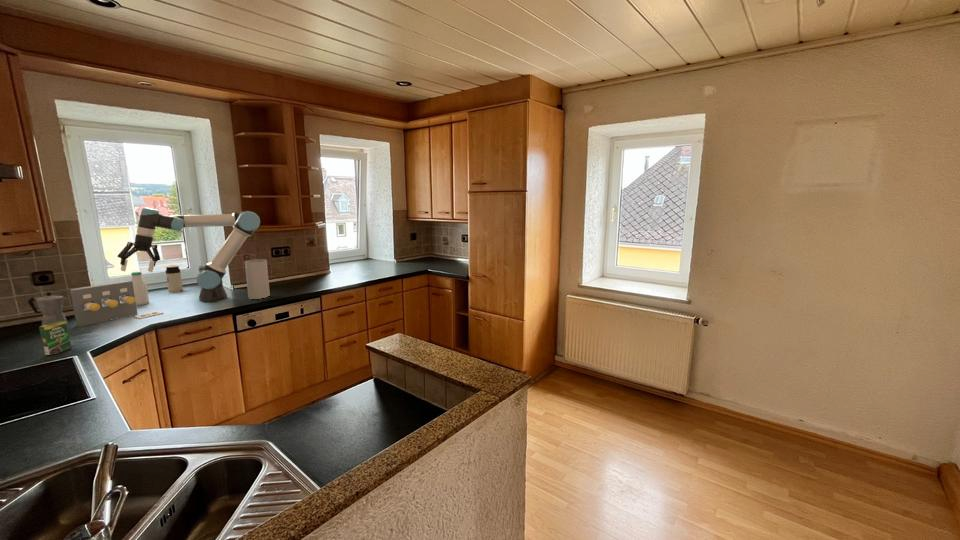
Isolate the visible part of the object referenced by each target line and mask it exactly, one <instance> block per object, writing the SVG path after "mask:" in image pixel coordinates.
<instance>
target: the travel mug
mask: <svg viewBox="0 0 960 540" xmlns="http://www.w3.org/2000/svg"><path fill="white" fill-rule="evenodd" d="M179 267H180V264H171V265H170V264H169V265H166V266H165V268H166V269H165V276H166V282H167V291H168V292H169V293H178V292H181V290H182V291H183V290H184V289H183V288H184V287H183V281H182V273H181V268H179ZM177 291H178V292H177Z"/></svg>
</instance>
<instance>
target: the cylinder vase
mask: <svg viewBox="0 0 960 540" xmlns="http://www.w3.org/2000/svg"><path fill="white" fill-rule="evenodd" d="M244 264H245V265H244V267H245V277H246V278H245V279H246V285H247V286H246V287H247V296H248V299H249V300H251V299H260V300H262V299H261V298H266V297H268V296H271V294H270V293H271V292H270V283H269V282H270V281H269V272H268V270H269V269H268V261H267V259H263V258H262V259H260V258H259V259H249V260H245V261H244ZM268 298H269V297H268ZM266 299H267V298H266Z"/></svg>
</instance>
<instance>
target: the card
mask: <svg viewBox="0 0 960 540" xmlns="http://www.w3.org/2000/svg"><path fill="white" fill-rule="evenodd" d="M162 313H163V314H164V312H161V311H152V312H149V313H143V314H139V315H138V314H137V315H133V318H134V317H135V319H138V318H139V320H142V319H146V318H145V317H147V318H149V316H151V317H154V316H153V315H155V316H159V315H158V314H160V315H163V314H162ZM141 318H142V319H141Z"/></svg>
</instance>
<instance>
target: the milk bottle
mask: <svg viewBox="0 0 960 540" xmlns="http://www.w3.org/2000/svg"><path fill="white" fill-rule="evenodd" d="M142 276H143V275H142V271H132V272H131V277H132V280H131V281H132V282H133V288H134V295H135V299H136V306H141V305H147V304H149V303H150V299H149V292H148V287H147V283H146V281H145V280H144V278H143V277H142Z"/></svg>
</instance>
